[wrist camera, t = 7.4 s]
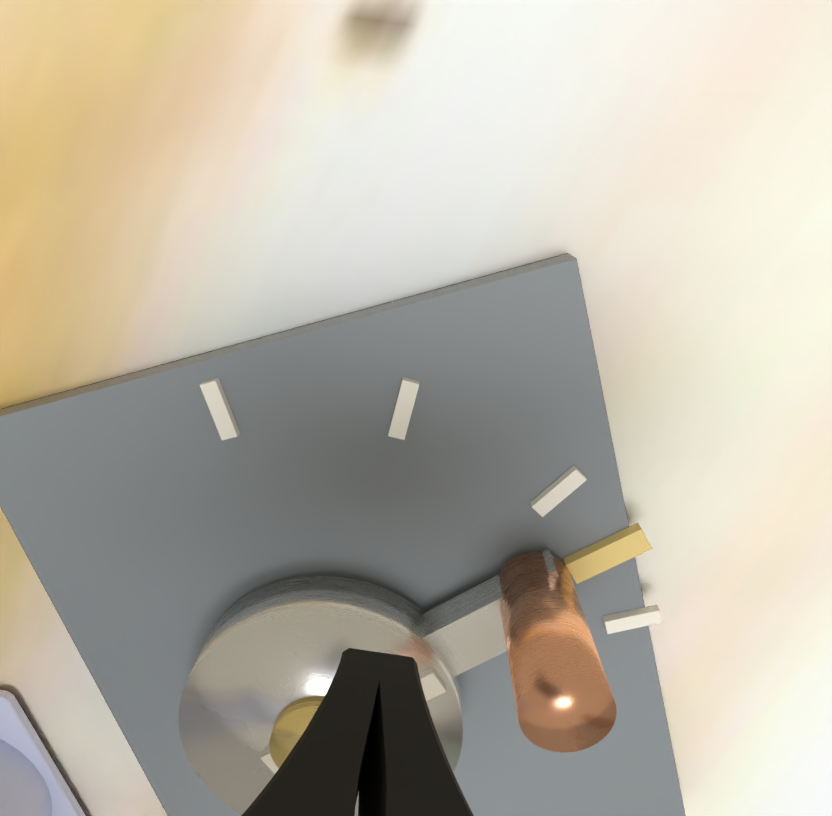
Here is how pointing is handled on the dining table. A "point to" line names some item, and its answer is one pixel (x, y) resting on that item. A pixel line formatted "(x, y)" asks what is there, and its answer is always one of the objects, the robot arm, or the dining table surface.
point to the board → (351, 516)
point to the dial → (393, 634)
